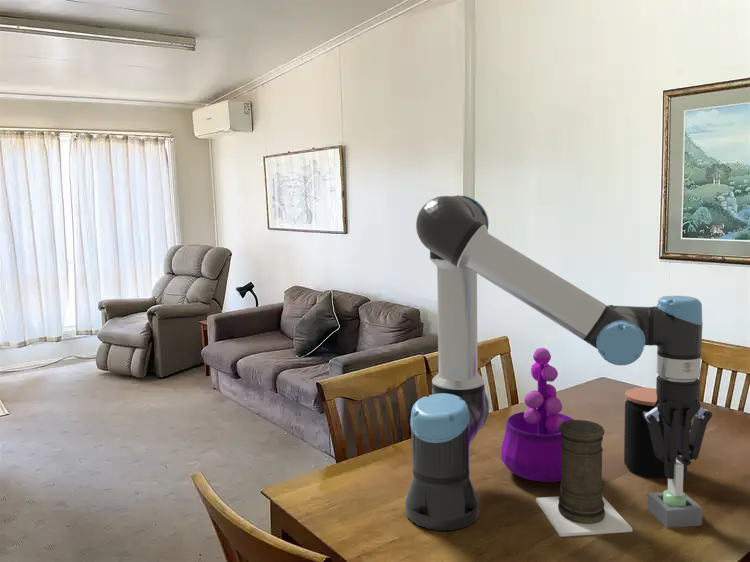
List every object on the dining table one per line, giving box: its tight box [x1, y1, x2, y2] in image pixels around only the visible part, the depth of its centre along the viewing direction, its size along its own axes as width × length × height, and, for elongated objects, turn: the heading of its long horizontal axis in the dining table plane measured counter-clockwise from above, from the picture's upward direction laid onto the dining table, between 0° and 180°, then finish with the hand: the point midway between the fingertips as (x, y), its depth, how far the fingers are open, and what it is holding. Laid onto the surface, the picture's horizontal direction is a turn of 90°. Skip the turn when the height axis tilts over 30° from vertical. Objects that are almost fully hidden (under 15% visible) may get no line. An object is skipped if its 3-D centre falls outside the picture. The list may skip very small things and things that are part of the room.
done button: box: [663, 489, 687, 507], centre depth 117 cm, size 4×4×4 cm
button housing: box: [647, 491, 703, 529], centre depth 118 cm, size 7×7×4 cm
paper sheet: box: [535, 495, 633, 537], centre depth 120 cm, size 14×14×1 cm
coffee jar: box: [623, 387, 667, 479], centre depth 138 cm, size 11×11×18 cm
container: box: [558, 419, 605, 524], centre depth 118 cm, size 9×9×18 cm
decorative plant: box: [500, 347, 575, 483], centre depth 137 cm, size 19×18×30 cm
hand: (675, 493), depth 117 cm, fingers closed
